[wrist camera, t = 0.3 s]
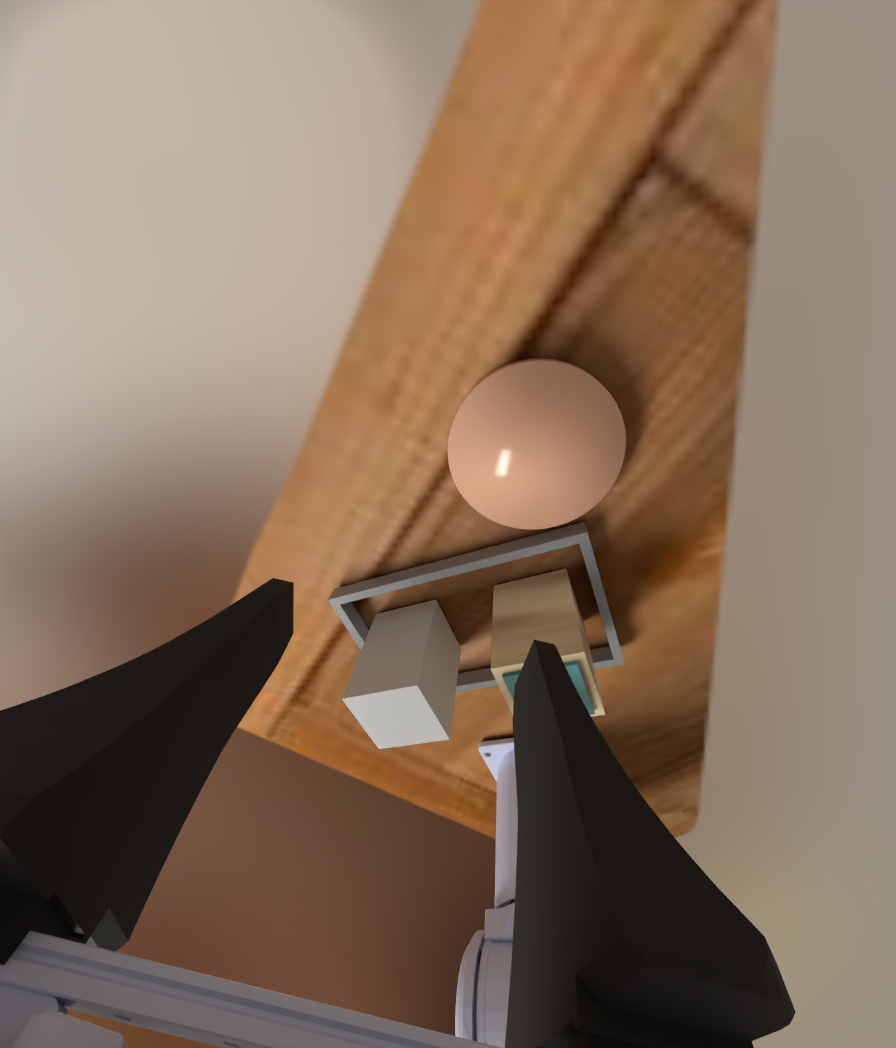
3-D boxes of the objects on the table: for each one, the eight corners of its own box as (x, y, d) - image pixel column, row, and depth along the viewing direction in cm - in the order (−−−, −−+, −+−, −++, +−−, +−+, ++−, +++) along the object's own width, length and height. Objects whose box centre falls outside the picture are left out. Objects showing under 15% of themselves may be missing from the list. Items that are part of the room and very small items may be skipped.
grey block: (461, 648, 26) (449, 739, 20) (403, 659, 27) (378, 749, 21) (436, 599, 24) (417, 685, 19) (375, 614, 25) (342, 698, 20)
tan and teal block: (584, 623, 23) (606, 718, 18) (515, 637, 25) (518, 730, 19) (566, 568, 22) (585, 655, 17) (493, 585, 23) (490, 672, 18)
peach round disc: (634, 493, 19) (640, 503, 18) (482, 536, 21) (481, 546, 20) (599, 327, 16) (604, 330, 15) (424, 396, 18) (420, 402, 17)
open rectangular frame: (620, 650, 24) (624, 664, 23) (399, 689, 28) (395, 702, 27) (584, 521, 20) (587, 532, 19) (334, 588, 24) (328, 599, 23)
